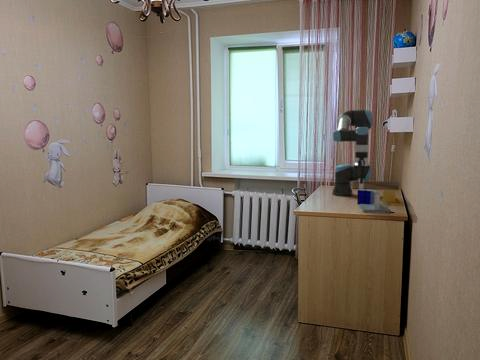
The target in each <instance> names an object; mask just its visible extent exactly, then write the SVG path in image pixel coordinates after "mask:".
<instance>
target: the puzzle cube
mask: <svg viewBox="0 0 480 360" xmlns="http://www.w3.org/2000/svg"><path fill="white" fill-rule="evenodd" d="M370 196H371V190H363V189H357V199H356V200H357V205H360V204H370Z"/></svg>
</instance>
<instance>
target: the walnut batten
mask: <svg viewBox="0 0 480 360" xmlns="http://www.w3.org/2000/svg"><path fill="white" fill-rule="evenodd" d="M351 183H352V184H351V188H352V190H359V181H351ZM363 190H376V191H378V190H379V191H384V190H394V191H399V190H400V181H396V180H391V181H390V180H389V181H388V180H383V181H382V180H369V181H364V184H363Z"/></svg>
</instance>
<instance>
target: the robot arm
mask: <svg viewBox="0 0 480 360" xmlns="http://www.w3.org/2000/svg"><path fill="white" fill-rule="evenodd" d="M373 121H374V119H373V112H372V110H370V109H357V110H356V109H355V110H353V109H351V110H347V111H344V112H343V113H340V115H339V116H338V118H337V124H338V125H337V129H336V130H333V131H332V132H333V133H332V140H333V141H334V142H338V143H339V142H341V143H342V142H344V143H345V142H355V146H354V149H355V153H354V154H355V162H354V163H353V165H351V163H346V164H339V165H336V166H335V170H334V174H335V175H334V176H335V177H334V187H333V189H332V195H333V196H340V197H341V196H342V197H348V196H349V197H350V196H353V195H354V194H353V193H354V192H353V189H352V184H351V183H352V181H359V189H363V184H364V181H371V175H372V169H373V168H372V167H373V166H371V164H370V162H369V137H370V136H369V134H370V133H369V132H370V130H371V129H372V127H373V126H374V122H373ZM350 127H354V129H350ZM359 189H358V190H359Z"/></svg>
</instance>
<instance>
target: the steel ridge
mask: <svg viewBox="0 0 480 360" xmlns="http://www.w3.org/2000/svg"><path fill="white" fill-rule="evenodd" d="M380 204H381V193H380V192H379V191H378V190H371V196H370V205H371V206H372V207H373V209H374V210H380Z"/></svg>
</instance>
